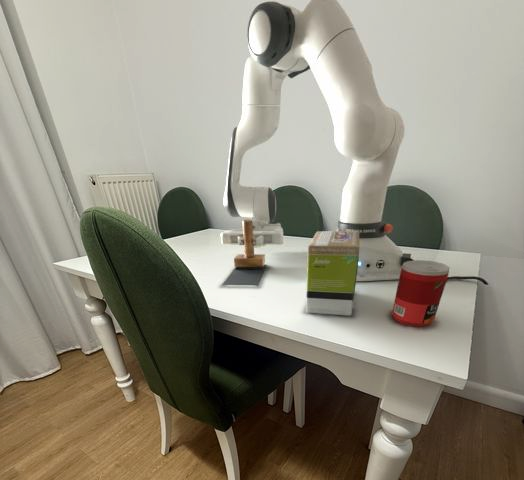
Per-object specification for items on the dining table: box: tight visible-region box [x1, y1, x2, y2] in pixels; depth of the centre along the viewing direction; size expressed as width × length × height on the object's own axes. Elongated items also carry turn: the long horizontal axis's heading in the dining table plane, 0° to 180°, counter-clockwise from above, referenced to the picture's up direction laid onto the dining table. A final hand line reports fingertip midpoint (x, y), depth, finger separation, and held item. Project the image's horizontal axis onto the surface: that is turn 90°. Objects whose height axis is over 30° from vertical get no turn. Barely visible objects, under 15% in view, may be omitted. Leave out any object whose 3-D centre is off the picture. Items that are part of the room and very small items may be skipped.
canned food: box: [391, 259, 451, 328], centre depth 57 cm, size 8×8×11 cm
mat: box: [221, 264, 268, 286], centre depth 88 cm, size 10×20×1 cm, turn 172°
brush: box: [233, 219, 266, 270], centre depth 89 cm, size 9×5×14 cm, turn 81°
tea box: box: [305, 230, 360, 316], centre depth 65 cm, size 15×10×15 cm
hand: (248, 242), depth 88 cm, fingers closed on brush, 3 cm apart
